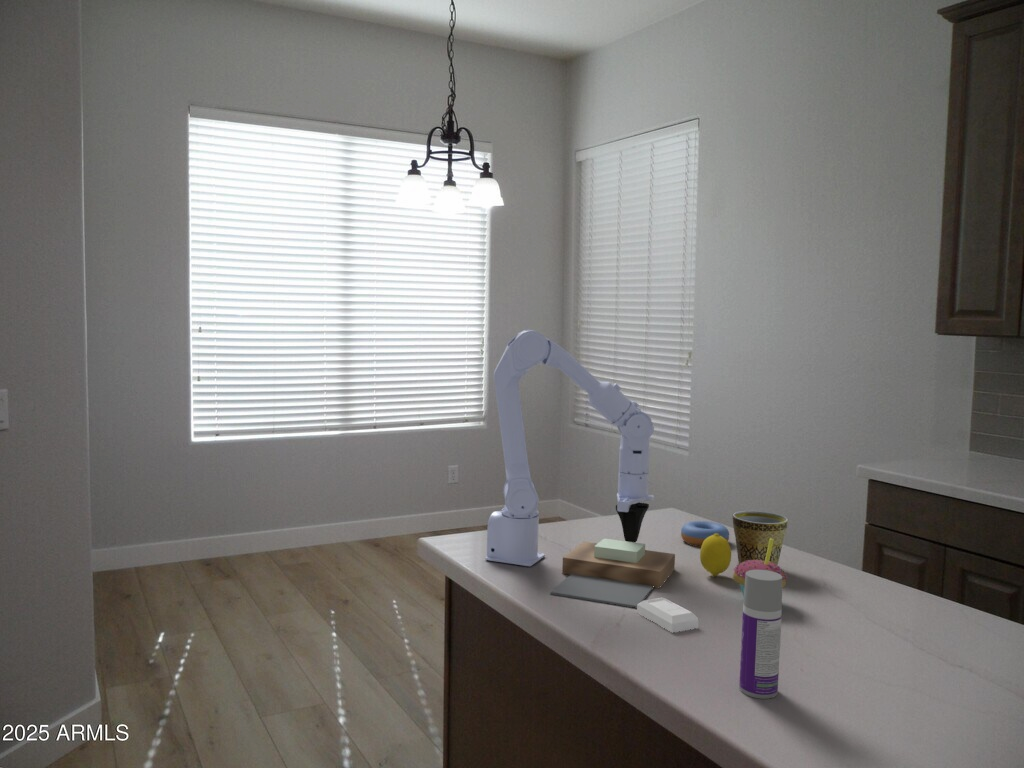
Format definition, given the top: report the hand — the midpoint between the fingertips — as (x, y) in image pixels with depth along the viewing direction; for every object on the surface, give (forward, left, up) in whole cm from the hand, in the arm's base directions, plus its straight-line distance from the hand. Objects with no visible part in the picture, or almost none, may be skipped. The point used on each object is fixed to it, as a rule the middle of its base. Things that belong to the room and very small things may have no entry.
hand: (631, 541), depth 159 cm
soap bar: (+14, -28, -4) cm, 32 cm away
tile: (0, -8, -1) cm, 8 cm away
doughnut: (+11, +20, -4) cm, 23 cm away
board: (0, -8, -4) cm, 9 cm away
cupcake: (+26, -13, -4) cm, 29 cm away
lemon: (+17, -2, -4) cm, 17 cm away
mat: (+1, -20, -4) cm, 20 cm away
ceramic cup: (+23, +8, -4) cm, 24 cm away
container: (+30, -47, -4) cm, 56 cm away
